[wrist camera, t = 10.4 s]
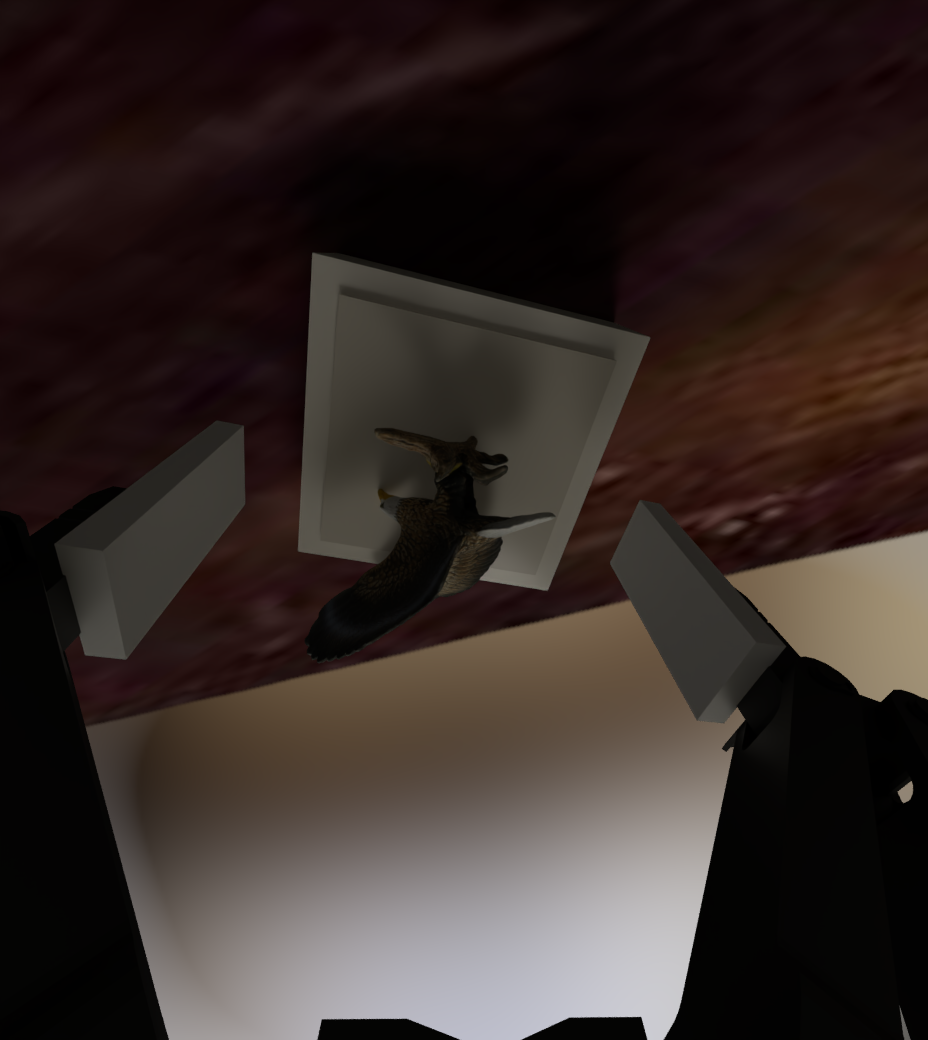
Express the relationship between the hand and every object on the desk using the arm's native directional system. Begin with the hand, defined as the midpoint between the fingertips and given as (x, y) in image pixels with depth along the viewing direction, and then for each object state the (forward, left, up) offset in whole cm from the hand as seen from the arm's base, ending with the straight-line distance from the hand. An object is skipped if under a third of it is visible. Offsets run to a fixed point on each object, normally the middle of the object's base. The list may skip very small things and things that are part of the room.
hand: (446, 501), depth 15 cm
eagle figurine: (0, -3, -4) cm, 5 cm away
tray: (0, 0, -8) cm, 8 cm away
